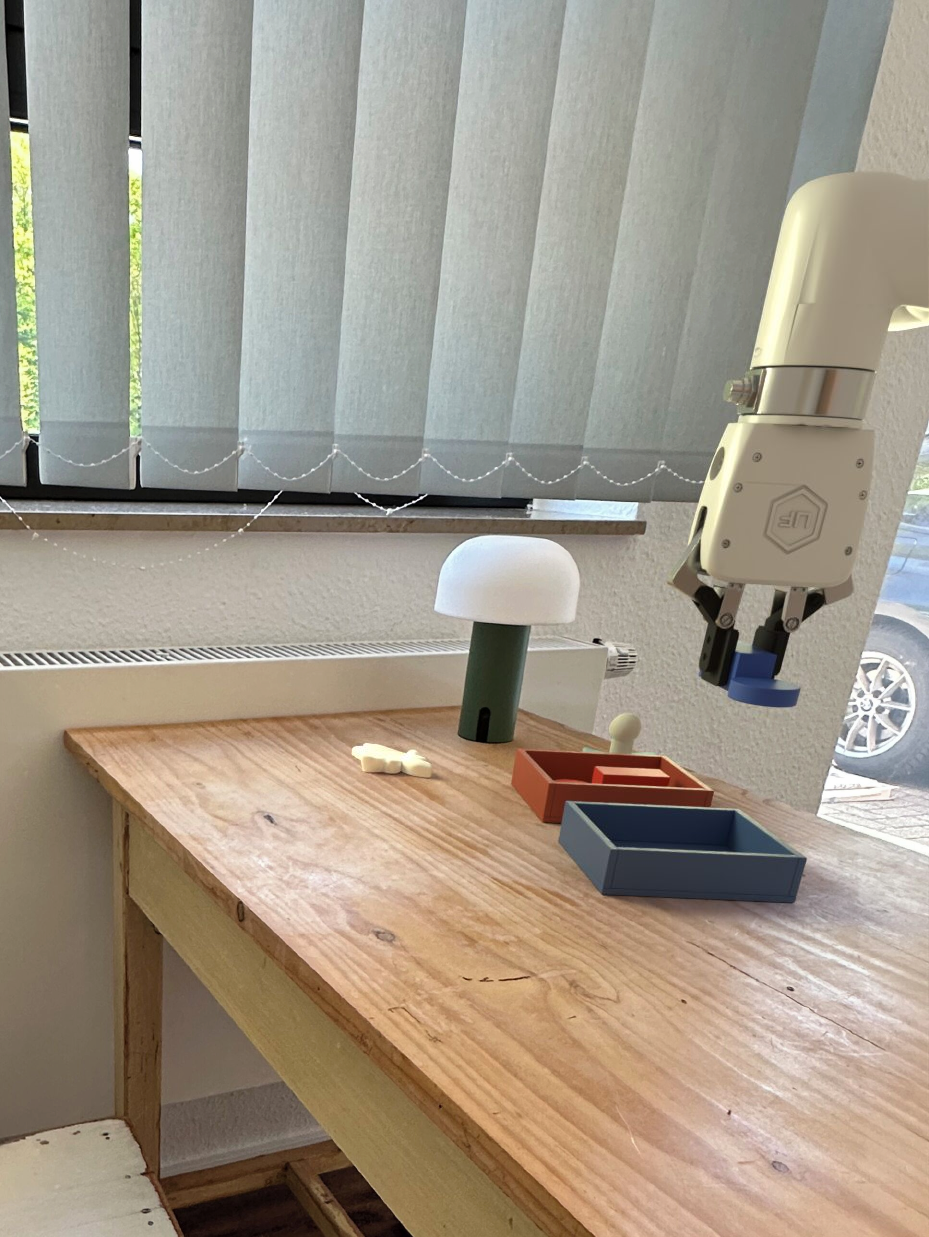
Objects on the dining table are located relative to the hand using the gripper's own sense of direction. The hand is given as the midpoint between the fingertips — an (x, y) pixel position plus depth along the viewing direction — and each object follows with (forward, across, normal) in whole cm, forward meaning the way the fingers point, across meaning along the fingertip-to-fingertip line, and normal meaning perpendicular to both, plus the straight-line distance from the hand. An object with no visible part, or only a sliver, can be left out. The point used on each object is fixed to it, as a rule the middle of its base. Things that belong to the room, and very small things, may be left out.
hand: (735, 681), depth 78 cm
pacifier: (+15, +2, +27) cm, 31 cm away
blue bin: (+14, -2, -1) cm, 15 cm away
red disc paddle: (+14, -2, +15) cm, 20 cm away
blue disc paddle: (0, 0, -1) cm, 1 cm away
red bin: (+14, -2, +15) cm, 21 cm away
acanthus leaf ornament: (+15, -20, +25) cm, 35 cm away
